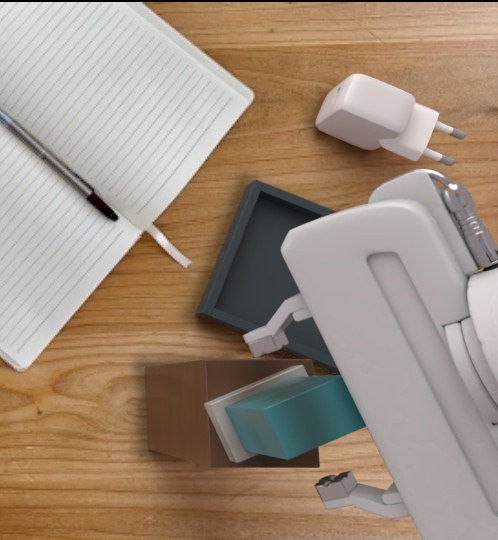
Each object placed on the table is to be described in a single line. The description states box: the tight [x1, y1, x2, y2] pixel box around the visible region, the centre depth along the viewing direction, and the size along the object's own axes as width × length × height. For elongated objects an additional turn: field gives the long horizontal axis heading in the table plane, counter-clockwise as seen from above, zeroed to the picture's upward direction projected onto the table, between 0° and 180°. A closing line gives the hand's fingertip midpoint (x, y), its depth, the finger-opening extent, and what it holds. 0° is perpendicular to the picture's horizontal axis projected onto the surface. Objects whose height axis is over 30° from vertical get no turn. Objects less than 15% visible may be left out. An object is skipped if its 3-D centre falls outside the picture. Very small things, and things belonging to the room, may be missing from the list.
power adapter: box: [314, 73, 467, 167], centre depth 73 cm, size 11×5×6 cm, turn 65°
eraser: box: [204, 365, 367, 463], centre depth 52 cm, size 6×4×8 cm, turn 113°
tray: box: [194, 179, 341, 375], centre depth 74 cm, size 16×13×2 cm
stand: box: [144, 358, 321, 469], centre depth 65 cm, size 7×7×18 cm
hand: (286, 418), depth 51 cm, fingers open, 8 cm apart
